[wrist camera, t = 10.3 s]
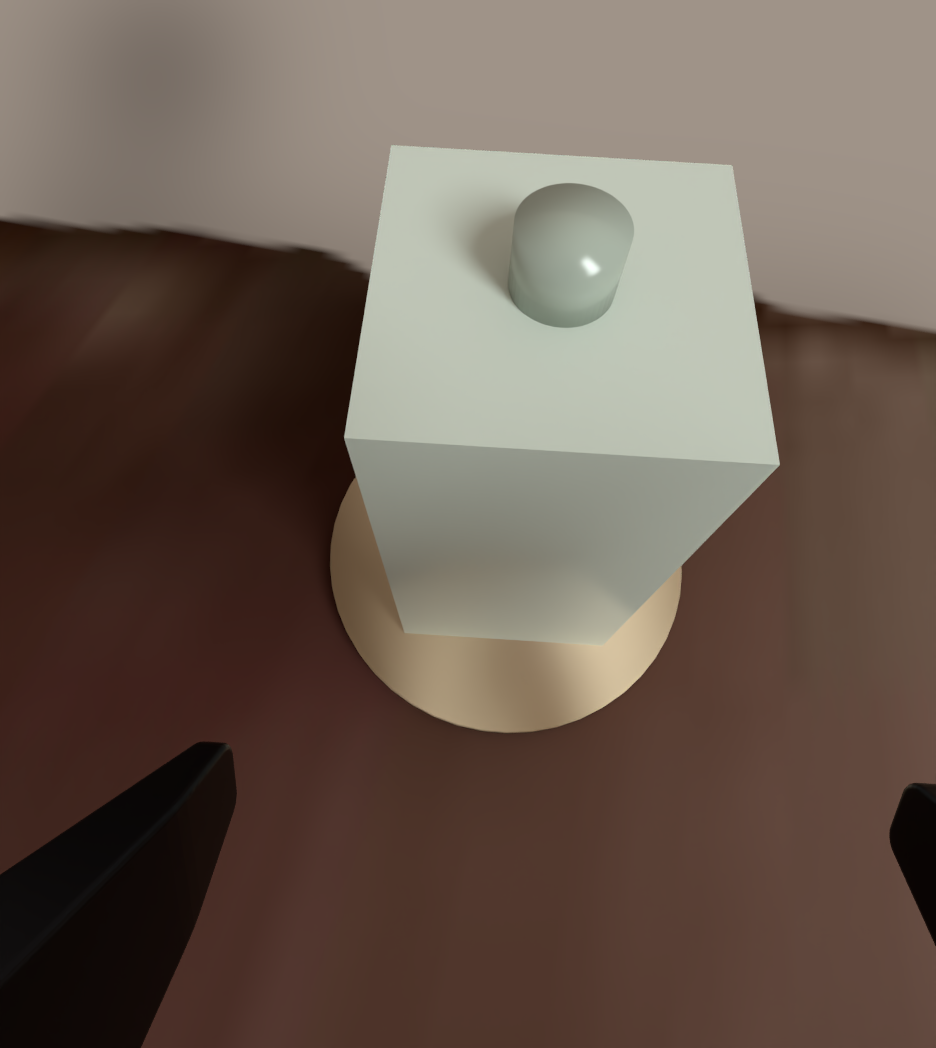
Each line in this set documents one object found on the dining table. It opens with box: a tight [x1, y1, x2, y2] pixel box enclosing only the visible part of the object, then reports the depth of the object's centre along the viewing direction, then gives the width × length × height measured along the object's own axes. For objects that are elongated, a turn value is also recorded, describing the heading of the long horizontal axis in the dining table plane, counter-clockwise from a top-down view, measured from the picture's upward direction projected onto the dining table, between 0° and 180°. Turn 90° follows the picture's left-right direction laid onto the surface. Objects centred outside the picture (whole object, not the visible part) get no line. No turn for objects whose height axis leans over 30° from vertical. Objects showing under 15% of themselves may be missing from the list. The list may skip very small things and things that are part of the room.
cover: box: [344, 145, 780, 646], centre depth 15 cm, size 6×6×13 cm
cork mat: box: [330, 477, 682, 734], centre depth 22 cm, size 12×12×1 cm
